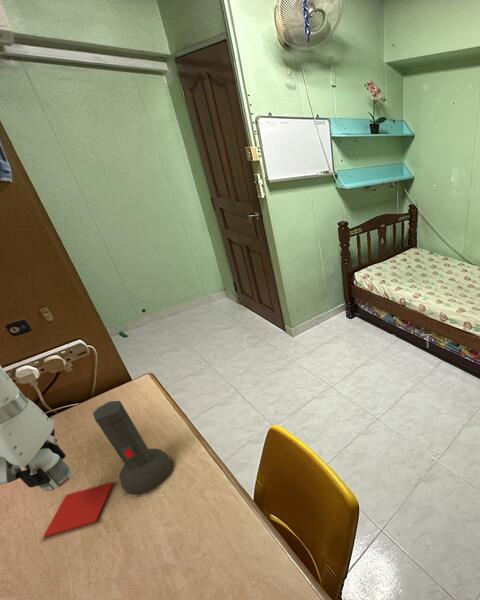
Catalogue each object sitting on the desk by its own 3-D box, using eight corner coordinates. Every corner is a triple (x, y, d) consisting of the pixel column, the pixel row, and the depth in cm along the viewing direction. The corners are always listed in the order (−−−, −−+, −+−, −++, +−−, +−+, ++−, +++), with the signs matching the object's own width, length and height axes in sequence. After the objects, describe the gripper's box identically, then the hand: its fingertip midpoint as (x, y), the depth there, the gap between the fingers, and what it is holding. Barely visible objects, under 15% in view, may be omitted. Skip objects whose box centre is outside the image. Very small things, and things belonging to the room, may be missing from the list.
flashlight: (126, 469, 80) (121, 504, 72) (79, 399, 68) (68, 433, 60) (172, 451, 84) (172, 481, 77) (136, 382, 72) (132, 411, 65)
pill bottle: (73, 466, 69) (53, 441, 65) (74, 481, 66) (53, 456, 62) (42, 481, 66) (20, 456, 62) (42, 497, 63) (18, 472, 59)
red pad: (44, 537, 66) (43, 536, 66) (67, 496, 74) (66, 494, 73) (96, 522, 69) (95, 520, 69) (113, 483, 77) (112, 482, 76)
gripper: (0, 382, 62) (49, 442, 70) (-79, 457, 48) (-5, 520, 56) (49, 374, 64) (90, 433, 73) (-13, 443, 50) (48, 506, 59)
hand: (48, 470), depth 64 cm, fingers closed on pill bottle, 4 cm apart
